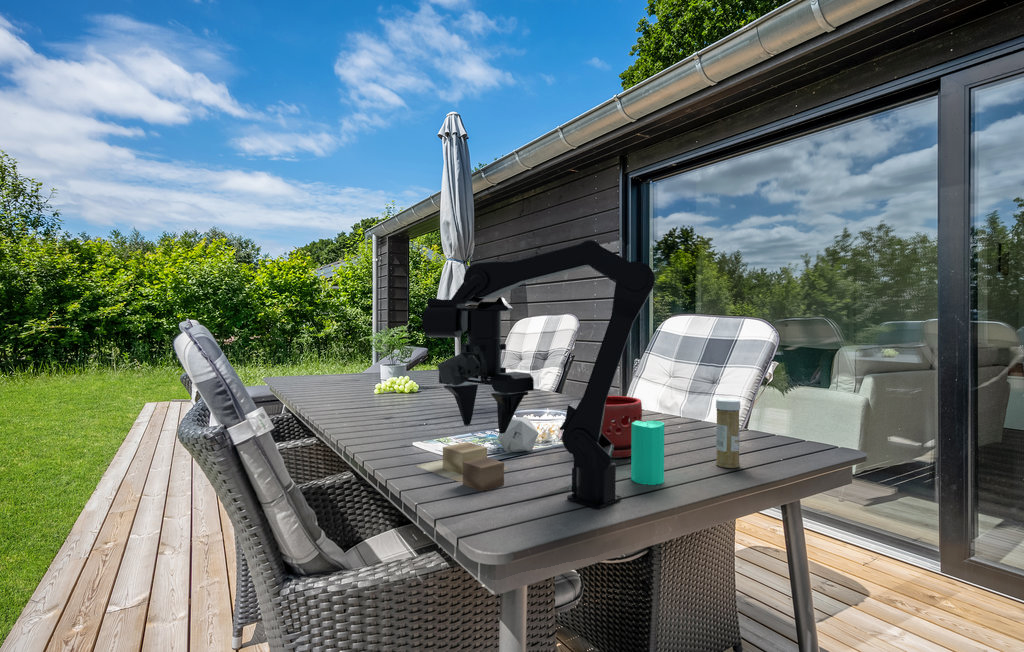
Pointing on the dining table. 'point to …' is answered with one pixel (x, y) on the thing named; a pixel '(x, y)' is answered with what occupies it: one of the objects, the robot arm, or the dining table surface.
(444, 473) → the building board
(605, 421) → the plant pot
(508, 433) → the die
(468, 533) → the dining table surface
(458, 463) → the oak block
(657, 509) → the dining table surface
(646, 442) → the candle
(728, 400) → the sprinkles bottle
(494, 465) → the walnut cube
